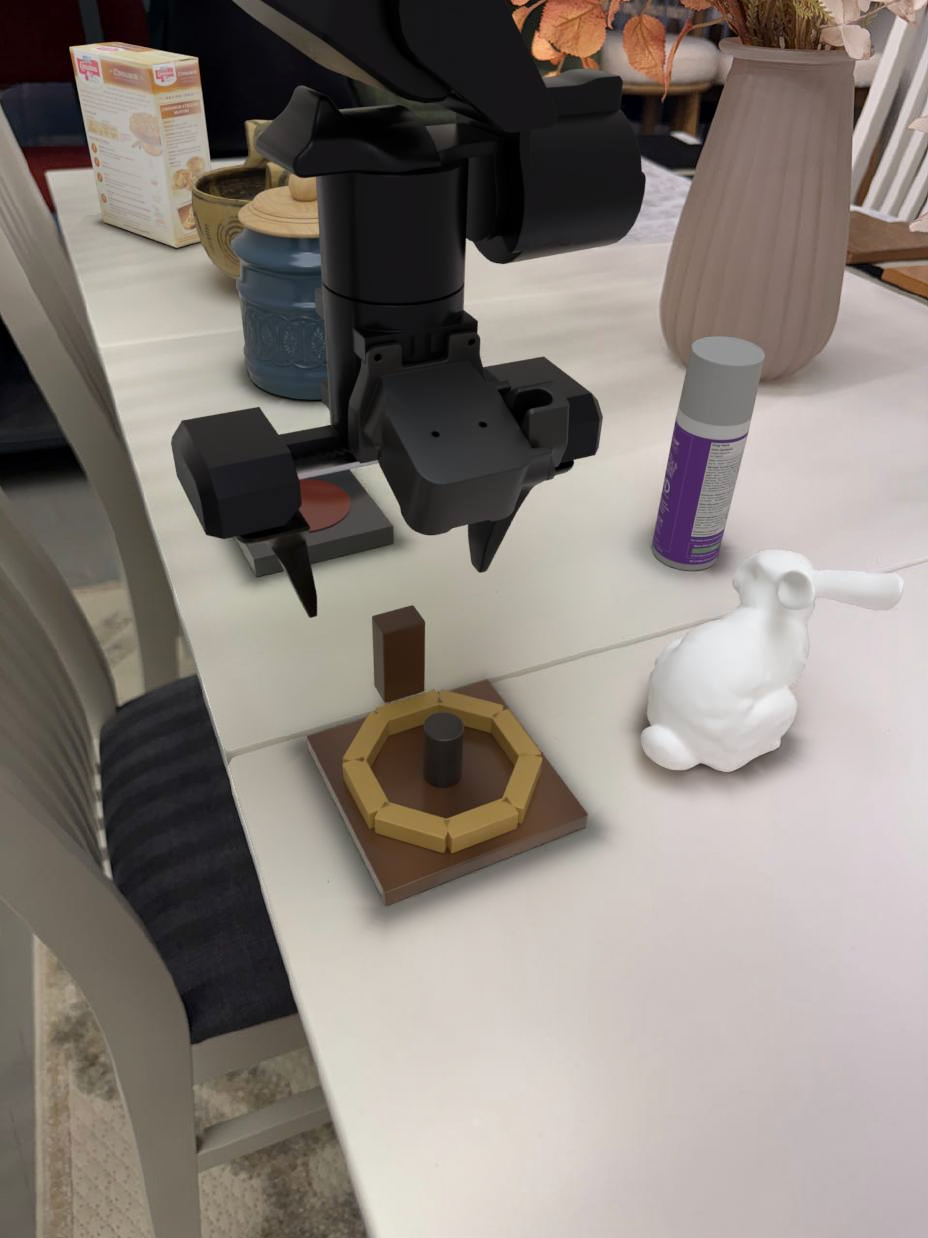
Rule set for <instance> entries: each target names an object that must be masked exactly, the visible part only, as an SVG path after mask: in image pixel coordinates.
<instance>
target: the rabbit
mask: <svg viewBox="0 0 928 1238" xmlns="http://www.w3.org/2000/svg"><path fill="white" fill-rule="evenodd" d="M731 583H732V587H733V589H734V590H735V591H736V593H737V594H738V597H739V601H740V604H739V605H738V606H737V607H734V608H732V610H731V611H729V612H727V613H726V614H724V615H723V616H721V618H720V619H716V620H709V621H706V622H704V623H701V624H699V625H698V626H696V627H694V628H692V629H690V630H689V631H688V632H686V634H685V635H683V636H680V637H677V638H674V639H673V640H671V641H669V643H668V644H666V645H665V647H664V648H663V649H662V650H661V651H660V653H658V655H657V656H656V658H655V661H654V667H653V668H652V670H650V672H649V676H648V683H647V684H648V685H647V686H648V692H647V693H648V699H647V709H646V716H647V720H648V722H649V725H650V726H647V727H646V728H644V729H643V731H642V732H641V735H640V743H641V747H642V749H643V752H644V754H645V755H646V757H648V758H649V759H650V760H651V761H652V762H654V763H656V764H657V765H659V766H661V767H663V768H666V769H668V770H670V771H671V770H673V771H686V770H689V769H691V768H693V767H696V766H697V765H699V764H702V765H706V766H707V767H709V768H711V769H713V770H715V771H719V772H723V773H731V772H734V771H736V770H738V769H740V768H742V767H744V766H745V765H746V764H748V763H749V762H751V761H752V760H754V759H756V758H758V757H760V756H763V755H765V754H767V753H770V752H773V751H776V749H778V748H780V746H781V742H782V740H781V739H782V737H783V736H784V735H785V734H786V733H787V731H788V730H789V729H790V727H792V724H793V723H794V720H795V718H796V715H797V712H798V706H799V705H798V701H797V698H796V696H795V694H793V692H792V691H791V689H790V688H791V686H792V685H794V684H796V682H799V680H800V679H801V677H802V676H803V672H804V670H805V668H806V665H807V661H808V658H809V653H810V647H811V645H810V634H809V627H808V622H809V620H810V618H811V616H812V615H813V612H814V610H815V608H816V604H817V603H816V602H817V598H820V599H825V600H829V601H833V602H837V603H841V604H846V605H850V606H854V607H858V608H861V609H865V610H870V611H875V612H880V611H881V612H882V611H883V612H884V611H886V612H887V611H889V610H892V609H894V608H895V607H896V606H897V605H898V604H899V602H900V601H901V599H902V597H903V592H904V589H905V580H904V579H903V577H902V576H901V575H900V574H898V573H894V572H878V573H877V572H867V571H860V570H845V569H842V570H841V569H822V570H821V569H815V567H814V565H813V564H812V562H811V561H810V560H809V558H808V557H806V556H805V555H803V554H802V553H799V552H796V551H792V550H784V549H765V550H761V551H757V552H755V553H753V554H751V555H749V556H748V557H746V558H745V559H744V560H743V561H742V562H741V563H740V566H739V568H738V569H737V570H736V572H735V573H734V574H733V577H732V581H731Z"/></svg>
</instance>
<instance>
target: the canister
mask: <svg viewBox="0 0 928 1238" xmlns="http://www.w3.org/2000/svg"><path fill="white" fill-rule="evenodd" d="M238 218H239V221H240V222H241V223H242V224H243V225H244V229H243V230H241V231H240V232H239V233H238V234H236V235H235V237H234V238H233V240H232V242H231V248H232V251H233V252H234V254H235V255H236V256H237V257H238V258H239V260H240V275H239V276H238V278H237V280H236V281H235V288H236V290H237V292H238V298H239V305H240V314H241V322H242V324H241V325H242V333H243V339H244V340H243V341H244V345H243V350H242V351H243V356H244V363H245V366H246V368H247V370H248V375H249V378H250V379H251V381H252V382H253V384H255V385H256V386H257V387H259V388H260V389H261V390H263V391H266V392H268V393H271V394H273V395H275V396H280V397H283V398H284V397H285V398H288V399H295V400H296V399H297V400H309V401H311V400H313V401H314V400H322V397H321V382H320V380H323V379H328V374H327V358H326V341H325V324H324V320H323V319H322V318H321V317H320V315H319V314H318V313H317V312H316V305H315V289H314V288H321V287H322V273H321V256H320V240H319V223H318V206H317V189H316V177H311V178H299V177H297V176H295V175H294V174H291V176H290V178H289V186H284V187H277V188H273V189H269V190H266V191H263V192H261V193H259V194H258V195H256V196H255V198H254V199H253V201H251V202H250V203H248V204H246V205H245V206H244V207H242V208H241V209H240V211H239V213H238Z"/></svg>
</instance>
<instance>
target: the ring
mask: <svg viewBox="0 0 928 1238" xmlns="http://www.w3.org/2000/svg"><path fill="white" fill-rule="evenodd" d="M371 630H372V659H373V660H372V661H373V686H374V688H375V689H376V692H377V693H378V695H379V696H380V698H381V700H382V701H383V703H384V704H383V705H379V706H377V707H375V708H374V712H373V711H369V713H368V714H367V716H366V717H367V718H366V720H365V721H364V723H363V725H362V726H361V728H360V730H359V731H358V733H357V735H356V736H355V738H354V740H353V742H352V743H351V745H350V747H349V748H348V750H347V752H346V753H345V755H344V757H343V764H342V767H343V779H344V781H345V783H346V785H347V787H348V789H349V791H350V793H351V795H352V797H353V799H354V800H355V802H356V804H357V806H358V808H359V810H360V812H361V814H362V816H363V818H364V820H365V822H366V824H367V826H368V828H369V829H371V828H374V827H375V833H377V834H380V835H383V836H387V837H390V838H393V839H397V840H400V841H403V842H407V843H410V844H413V845H417V846H420V847H423V848H427V849H430V850H433V851H437V852H440V853H444V852H445V850H446V848H447V847H448V848H449V850H450V852H451V853H455V852H457V851H460V850H463V849H465V848H468V847H470V846H473V845H476V844H478V843H481V842H483V841H486V840H489V839H491V838H494V837H496V836H499V835H502V834H504V833H507V832H510V831H512V830H515V829H517V824H518V823H519V824H522V823H523V820H524V817H525V814H526V812H527V809H528V806H529V803H530V801H531V798H532V795H533V793H534V790H535V787H536V784H537V782H538V779H539V776H540V773H541V766H542V758H541V752H542V751H541V752H540V750H541V749H540V748H539V747H538V748H539V749H540V750H539V749H538V748H537V746H538V745H537V744H536V743H535V744H536V745H537V746H536V745H535V744H534V742H535V741H534V740H533V739H532V740H533V741H534V742H533V741H532V740H531V738H532V737H531V736H530V735H529V736H530V737H531V738H530V737H529V736H528V734H529V733H528V732H527V731H526V732H527V733H528V734H527V733H526V732H525V730H526V729H525V728H524V726H523V725H522V724H521V722H520V721H519V720H518V718H517V717H516V716H515V717H516V718H517V719H516V718H515V717H514V715H515V714H514V713H513V712H512V713H513V714H514V715H513V714H512V713H511V711H512V710H511V709H510V708H509V709H510V710H511V711H510V710H509V709H506V710H503V705H500V704H497V703H493V702H489V701H485V700H481V699H477V698H473V697H469V696H465V695H462V694H458V693H454V692H450V691H451V690H446V689H441V690H440V692H439V693H438V692H437V690H436V689H432V690H428V691H426V692H425V690H426V685H425V683H426V682H425V681H426V680H425V679H426V620H425V619H424V618H423V616H422V615H421V614H420V611H418V609H417V608H416V606H415V605H414V604H411V605H407V606H404V607H400V608H396V609H393V610H389V611H386V612H385V611H384V612H382V613H379V614H374V615H372V616H371ZM440 712H447V713H452V714H454V715H456V716H458V717H459V718H460V719H461V720H462V722H463V724H464V726H466V727H470V728H473V729H477V730H481V731H485V732H488V733H491V734H492V735H493V737H494V738H495V739H496V741H497V742H498V744H499V745H500V747H501V748H502V749H503V751H504V752H505V754H506V755H507V756H508V758H509V759H510V761H511V762H512V764H513V765H514V766H515V767H514V769H513V772H512V774H511V777H510V779H509V782H508V784H507V787H506V789H505V792H504V794H503V797H502V798H501V799H499V800H496V801H493V802H490V803H488V804H485V805H482V806H480V807H477V808H474V809H471V810H469V811H466V812H463V813H461V814H458V815H455V816H452V817H450V818H447V819H446V818H443V817H439V816H436V815H432V814H429V813H425V812H422V811H418V810H415V809H412V808H408V807H405V806H401V805H398V804H394V803H391V802H389V801H388V799H387V797H386V795H385V794H384V792H383V790H382V788H381V786H380V784H379V783H378V781H377V779H376V777H375V775H374V774H373V772H372V770H371V766H372V764H373V763H374V761H375V759H376V757H377V755H378V754H379V752H380V750H381V748H382V747H383V745H384V743H385V741H386V739H387V738H388V736H390V735H393V734H396V733H399V732H402V731H405V730H408V729H411V728H415V727H418V726H421V725H424V723H425V721H426V719H427V718H428V717H429V716H431V715H433V714H435V713H440ZM517 720H518V721H519V722H520V723H519V722H518V721H517ZM520 724H521V725H522V726H523V727H522V726H521V725H520ZM523 728H524V729H525V730H524V729H523Z"/></svg>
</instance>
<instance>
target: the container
mask: <svg viewBox="0 0 928 1238" xmlns="http://www.w3.org/2000/svg"><path fill="white" fill-rule="evenodd" d="M689 352H690V353H689V357H688V360H687V366H686V369H685V375H684V380H683V384H682V389H681V393H680V397H679V402H678V407H677V411H676V416H675V419H674V426H673V430H672V435H671V441H670V447H669V452H668V458H667V463H666V468H665V472H664V473H665V474H664V478H663V484H662V489H661V495H660V499H659V506H658V510H657V516H656V522H655V526H654V532H653V536H652V542H651V543H652V544H651V551H652V553H653V556H654V557H655V558H656V559H657V560H658V561H660V562H661V563H663V564H664V565H666V566H668V567H671V568H673V569H677V570H681V571H691V572H692V571H702V570H705V569H708V568H710V567H712V566H713V565H715V564H716V563H717V560H718V557H719V554H720V550H721V546H722V542H723V537H724V534H725V530H726V525H727V521H728V517H729V513H730V509H731V506H732V501H733V497H734V493H735V489H736V484H737V481H738V477H739V472H740V469H741V464H742V460H743V457H744V452H745V449H746V445H747V440H748V437H749V432H750V427H751V422H752V420H753V419H752V418H753V413H754V409H755V404H756V399H757V394H758V392H759V391H758V390H759V386H760V381H761V377H762V376H761V375H762V372H763V368H764V362H765V357H766V353H765V351H764V350H763V349H762V348H761V347H760V346H758V345H757V344H755V343H753V342H750V341H748V340H745V339H741V338H738V337H732V336H723V335H722V336H721V335H716V336H715V335H714V336H705V337H701V338H699V339H697V340H695V341H694V342H693V343H692V344H691V348H690V351H689Z"/></svg>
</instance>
